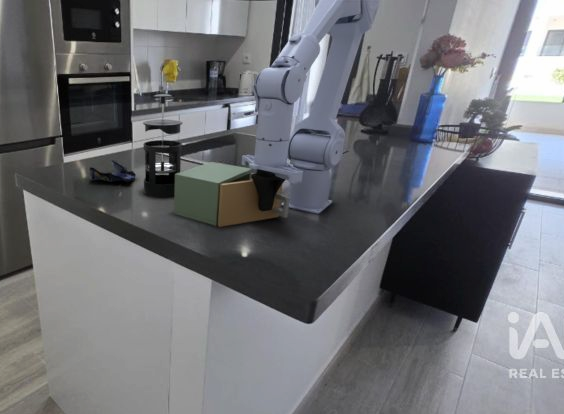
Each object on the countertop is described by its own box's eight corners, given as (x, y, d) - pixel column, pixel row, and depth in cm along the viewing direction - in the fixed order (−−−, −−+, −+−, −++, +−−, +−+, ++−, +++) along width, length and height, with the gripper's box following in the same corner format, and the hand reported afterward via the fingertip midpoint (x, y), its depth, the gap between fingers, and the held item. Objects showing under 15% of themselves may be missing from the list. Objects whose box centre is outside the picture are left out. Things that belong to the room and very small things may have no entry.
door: (290, 223, 74) (296, 181, 71) (230, 234, 69) (233, 190, 66) (275, 215, 77) (280, 176, 74) (217, 225, 73) (220, 183, 70)
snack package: (111, 173, 110) (82, 181, 102) (113, 152, 108) (83, 158, 99) (143, 187, 104) (115, 197, 95) (147, 165, 102) (118, 173, 93)
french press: (167, 202, 86) (168, 96, 78) (133, 194, 91) (131, 95, 83) (191, 189, 95) (195, 93, 87) (160, 183, 100) (160, 92, 92)
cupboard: (248, 207, 83) (252, 168, 80) (215, 226, 73) (218, 183, 70) (209, 197, 89) (211, 161, 86) (174, 214, 79) (174, 174, 76)
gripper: (230, 134, 73) (226, 201, 78) (282, 147, 60) (272, 226, 65) (261, 131, 75) (255, 196, 80) (316, 144, 63) (305, 220, 67)
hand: (265, 209), depth 73 cm, fingers closed
